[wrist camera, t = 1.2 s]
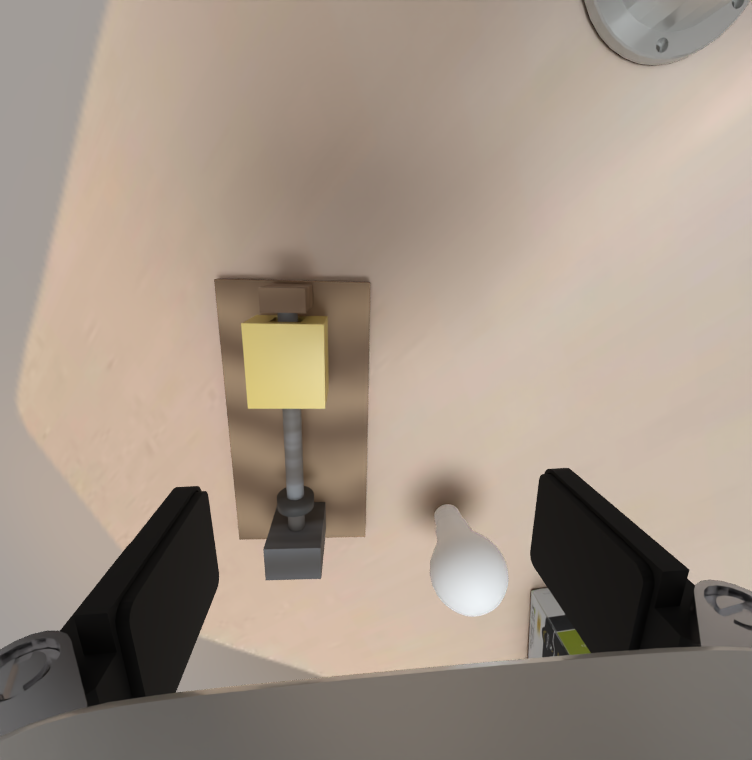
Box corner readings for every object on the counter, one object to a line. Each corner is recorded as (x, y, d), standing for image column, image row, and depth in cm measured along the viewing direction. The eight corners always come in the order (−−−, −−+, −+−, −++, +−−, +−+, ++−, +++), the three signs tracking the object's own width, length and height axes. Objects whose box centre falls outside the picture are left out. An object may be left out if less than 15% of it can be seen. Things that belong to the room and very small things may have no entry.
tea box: (604, 672, 46) (714, 851, 32) (523, 682, 46) (599, 867, 32) (616, 575, 42) (751, 733, 28) (528, 586, 42) (619, 751, 28)
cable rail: (219, 278, 30) (180, 283, 23) (369, 282, 31) (374, 287, 24) (242, 530, 37) (218, 591, 30) (364, 528, 38) (367, 587, 31)
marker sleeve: (256, 314, 29) (241, 323, 25) (327, 316, 29) (323, 324, 25) (261, 389, 31) (247, 408, 27) (328, 389, 31) (325, 408, 27)
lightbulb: (402, 515, 38) (421, 612, 27) (442, 472, 37) (478, 556, 26) (447, 545, 39) (482, 647, 29) (487, 504, 38) (538, 595, 28)
